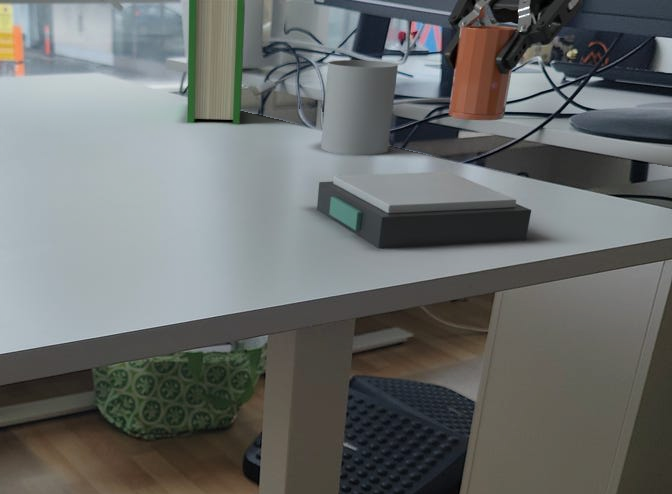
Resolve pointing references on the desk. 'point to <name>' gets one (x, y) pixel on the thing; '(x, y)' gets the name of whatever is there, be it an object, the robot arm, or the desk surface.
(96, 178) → the desk surface
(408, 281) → the desk surface
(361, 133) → the cup
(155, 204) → the desk surface
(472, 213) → the scale
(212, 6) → the hardback book
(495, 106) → the tumbler
